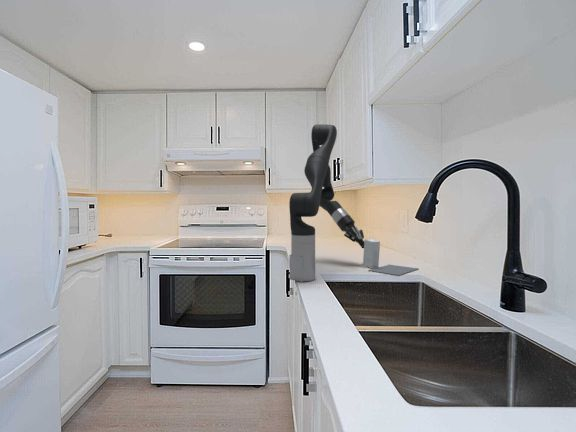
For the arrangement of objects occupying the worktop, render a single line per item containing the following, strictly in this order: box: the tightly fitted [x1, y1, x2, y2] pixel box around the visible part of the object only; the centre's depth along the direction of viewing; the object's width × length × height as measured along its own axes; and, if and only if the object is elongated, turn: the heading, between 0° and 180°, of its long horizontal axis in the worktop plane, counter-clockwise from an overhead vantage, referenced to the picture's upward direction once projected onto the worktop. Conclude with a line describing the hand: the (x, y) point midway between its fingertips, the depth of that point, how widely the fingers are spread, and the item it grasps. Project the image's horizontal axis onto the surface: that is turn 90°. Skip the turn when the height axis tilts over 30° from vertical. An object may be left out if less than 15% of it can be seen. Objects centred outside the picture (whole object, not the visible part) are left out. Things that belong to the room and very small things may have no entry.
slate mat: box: [367, 264, 419, 277], centre depth 147 cm, size 18×14×1 cm
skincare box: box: [362, 238, 381, 269], centre depth 153 cm, size 6×4×12 cm
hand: (365, 247), depth 155 cm, fingers closed
